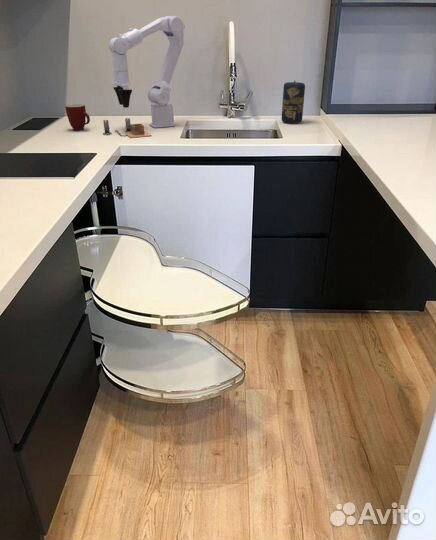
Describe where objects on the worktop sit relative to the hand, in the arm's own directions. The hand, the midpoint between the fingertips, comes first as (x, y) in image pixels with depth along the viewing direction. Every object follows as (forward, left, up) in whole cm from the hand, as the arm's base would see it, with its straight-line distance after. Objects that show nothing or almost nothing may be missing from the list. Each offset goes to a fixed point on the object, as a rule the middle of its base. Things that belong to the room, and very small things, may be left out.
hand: (124, 106), depth 192 cm
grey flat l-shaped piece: (+3, +5, -10) cm, 12 cm away
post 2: (0, +5, -10) cm, 11 cm away
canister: (-74, +13, -10) cm, 76 cm away
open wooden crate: (-2, +11, -9) cm, 15 cm away
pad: (-3, +11, -10) cm, 15 cm away
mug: (+18, -8, -10) cm, 22 cm away
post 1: (+9, +5, -10) cm, 14 cm away
